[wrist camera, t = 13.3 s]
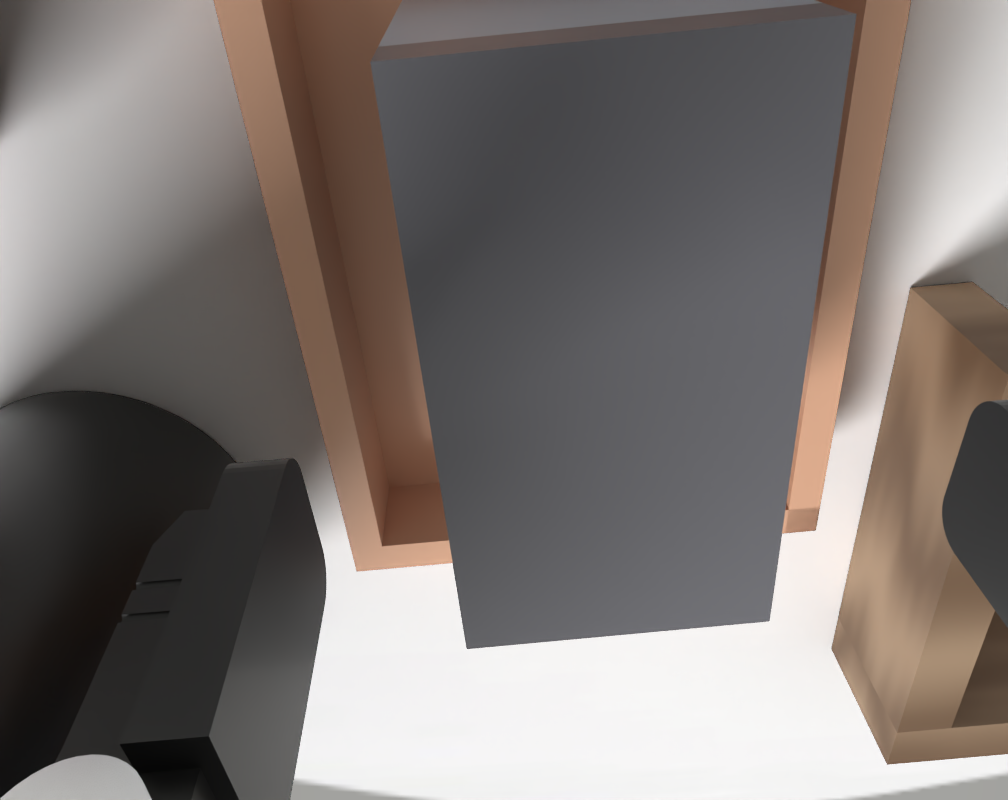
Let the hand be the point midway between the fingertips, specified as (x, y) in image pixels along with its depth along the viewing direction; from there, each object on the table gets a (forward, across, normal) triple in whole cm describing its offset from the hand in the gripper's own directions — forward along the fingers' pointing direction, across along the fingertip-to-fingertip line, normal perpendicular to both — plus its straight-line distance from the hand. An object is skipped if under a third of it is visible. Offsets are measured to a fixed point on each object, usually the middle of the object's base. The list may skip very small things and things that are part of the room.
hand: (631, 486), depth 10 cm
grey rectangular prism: (+10, 0, 0) cm, 10 cm away
